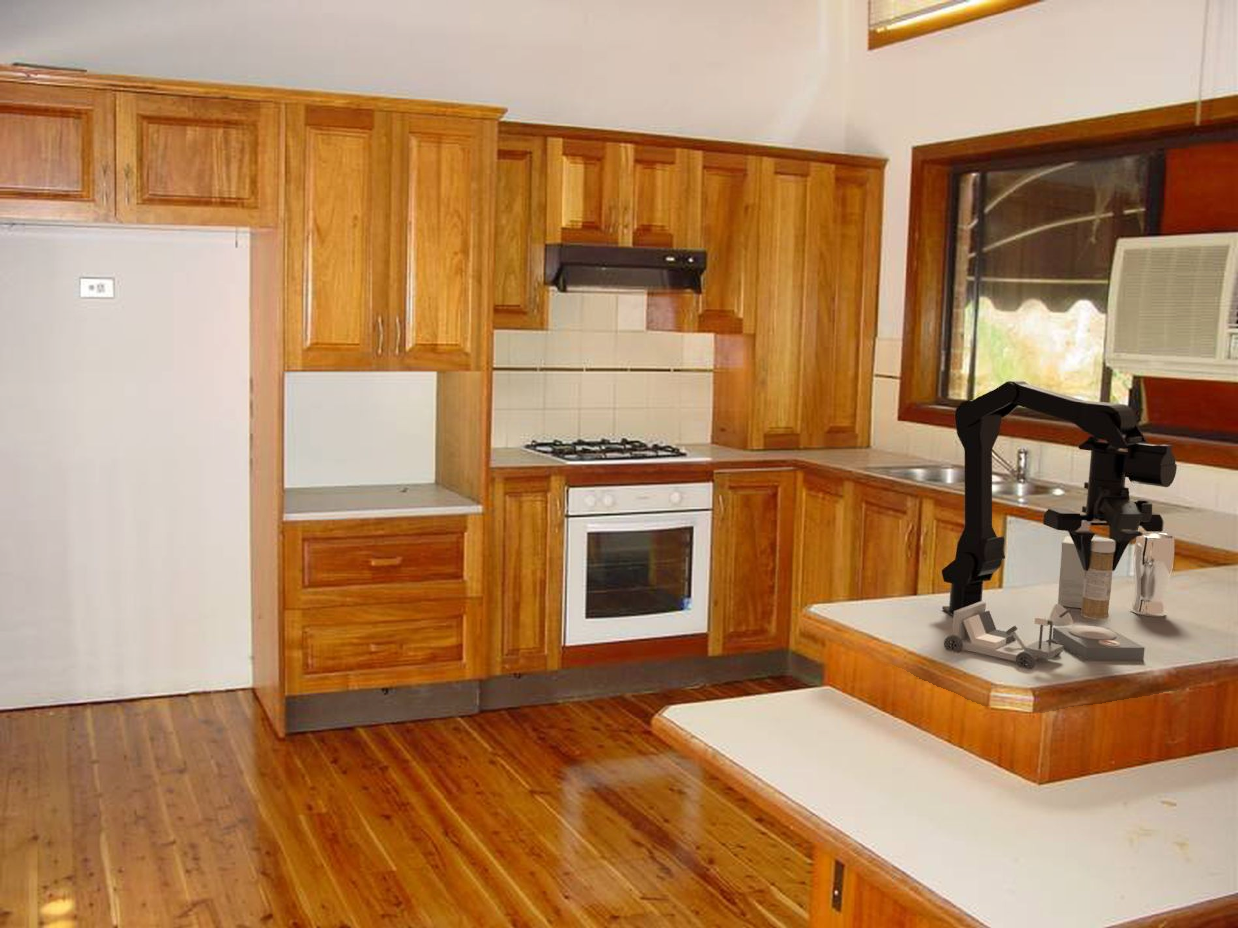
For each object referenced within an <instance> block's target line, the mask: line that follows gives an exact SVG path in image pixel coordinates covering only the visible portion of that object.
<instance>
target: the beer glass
mask: <svg viewBox="0 0 1238 928" xmlns="http://www.w3.org/2000/svg"><path fill="white" fill-rule="evenodd" d="M1140 532H1141V533H1143V534H1142V535H1141V536H1137V537H1136V538H1135V544H1134V552H1133V562H1132V563H1133V576H1134V586H1135V587H1134V589H1135V590H1134V598H1133V602H1132V605H1131V608H1130V611H1131V612H1132V613H1133V612H1134V614H1135V615H1136V614H1137V615H1139V614H1140V616H1145V617H1152V618H1153V617H1155V618H1157V617H1158V618H1159V617H1165V616H1166V614H1167V611H1166V593H1167V589H1168V585H1169V582H1170V579H1171V574H1172V571H1173V567H1174V560H1175V536H1174V535H1172V534H1167V533H1163V532H1147V531H1140Z"/></svg>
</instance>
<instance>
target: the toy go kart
mask: <svg viewBox="0 0 1238 928" xmlns="http://www.w3.org/2000/svg"><path fill="white" fill-rule="evenodd" d="M986 604H987V602H986V601H982V602H981V601H980V602H978V603H975V604H972V605H969V606H967V607H964V608H961V609H959V610H956V611H954V617H953V616H952V618H953V619H952V633H951V635H948V636H947V637H946V638H945V639H944V641H943V647H944V649H945V650H946V651H948V652H952V651H953V653H960V652H961V651H962V650H965V651H971V652H973V653H978V654H982V655H988V656H992V657H996V658H1000V659H1005V660H1008V661H1014V662H1015V664H1016V666H1017V668H1022V669H1026V670H1032V669H1034V667H1035V666H1036V660H1038V659H1040V658H1043V659H1048V660H1049V659H1050V658H1053V657H1058V656H1059V655H1061V654H1062V653H1063V652H1064V647H1063V645H1061V644H1060V643H1059V642H1058V641H1057V640H1055V639H1052V638H1053V627H1066V626H1071V625H1073V618H1072V616H1071V614H1070V612H1071V611H1072V609H1071V608H1068V609H1066V607H1065V606H1061V605H1059V604H1058V603H1055V604H1054V606H1053V607H1052V610H1051V612H1050V615H1049V618H1047V617H1042V616H1036V617H1034V624H1035V625H1040V627H1039V638H1038V641H1031V640H1028V639H1027V640H1026V639H1022V638H1020V636H1018V635H1017V633H1016V631H1017V630H1018V629H1019V628H1018V627H1017V626H1016V625H1013V626H1012V627H1010V628H1009V629H1008V630H1006V631H1005V630H1000V629H997V628H996V624H995V622H994V619H993V617H992V614H991V611H990V610H986ZM1044 626H1045V627H1048V626H1049V633H1048V639H1047V640H1044V641H1043V630H1044Z"/></svg>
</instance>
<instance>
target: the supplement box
mask: <svg viewBox="0 0 1238 928" xmlns="http://www.w3.org/2000/svg"><path fill="white" fill-rule="evenodd" d="M1059 569H1060V570H1059V579H1058V581H1059V582H1058V595H1057V596H1058V599H1057V604H1059V605H1061V606H1062V607H1065V608H1066V607H1067V608H1076V609H1082V601H1083V585H1084V578H1085V570H1084V569H1083V567H1082V564H1081V561H1080V559H1079V556H1078V553H1077V550H1076V547H1075V545H1074V543H1073V540H1072V538H1071V536H1070V535H1069V536H1065V537H1064V539H1063V540H1062V541H1061V552H1060V568H1059Z"/></svg>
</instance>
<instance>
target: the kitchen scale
mask: <svg viewBox="0 0 1238 928" xmlns="http://www.w3.org/2000/svg"><path fill="white" fill-rule="evenodd" d="M1051 639H1055V640H1057V641H1058V642H1059V643H1060V644H1061V645H1063V646H1064V647H1063V648H1065V649H1066V648H1067V649H1066V650H1068V649H1069V650H1070V651H1069V650H1068V651H1069V652H1071V651H1072V652H1071V653H1073V654H1074V653H1075V655H1076V656H1077V655H1078V656H1077V657H1078V658H1081V659H1082V660H1083V661H1108V662H1109V661H1115V662H1116V661H1121V662H1122V661H1125V662H1126V661H1129V662H1130V661H1132V662H1133V661H1134V662H1135V661H1137V662H1138V661H1139V662H1141V661H1144V658H1145V649H1146V647H1144V646H1143V645H1141V644H1139V643H1137V642H1135V641H1133V640H1132V639H1130V638H1128V637H1126V636H1124V635H1123V634H1121V633H1119V632H1117V631H1115V630H1114V629H1111V628H1109V627H1098V626H1093V625H1092V626H1090V625H1074V626H1070V627H1057V626H1053V627H1052V638H1051Z"/></svg>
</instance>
